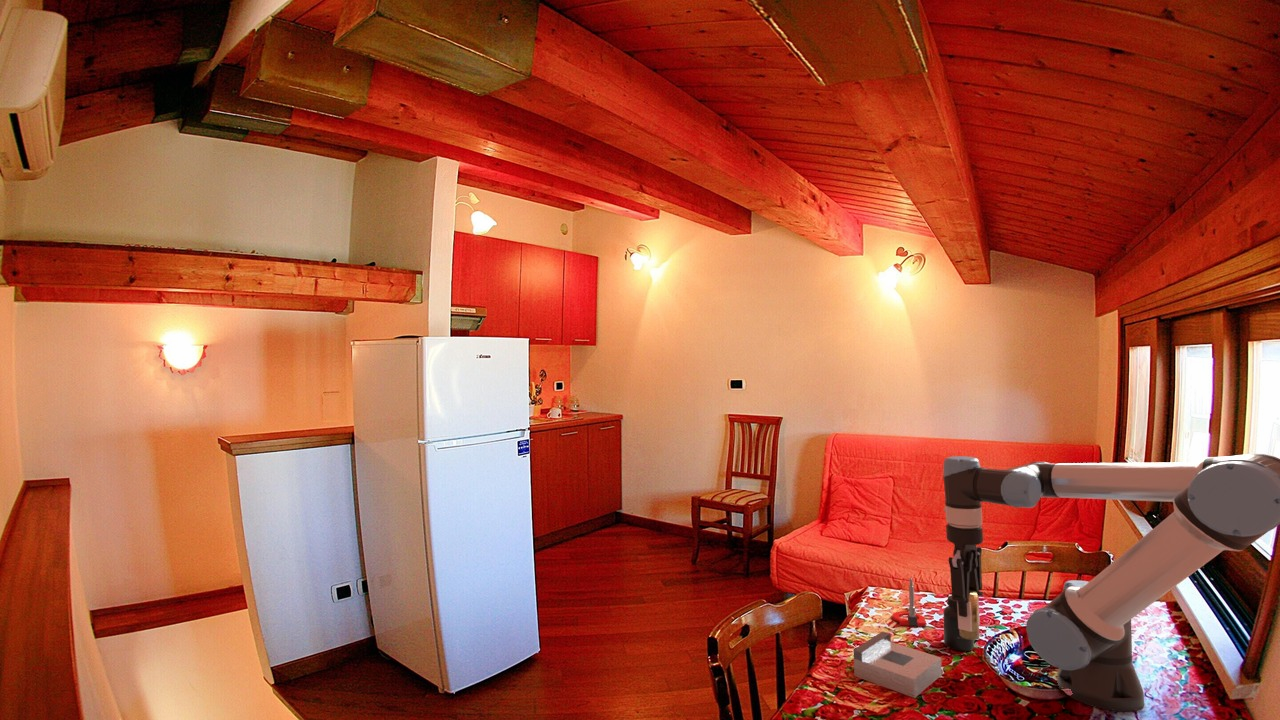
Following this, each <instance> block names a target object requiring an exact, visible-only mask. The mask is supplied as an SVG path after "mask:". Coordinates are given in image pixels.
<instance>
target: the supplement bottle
mask: <svg viewBox="0 0 1280 720" xmlns="http://www.w3.org/2000/svg"><path fill="white" fill-rule="evenodd" d="M946 605H947V606H945V608H944V609H943V643H944V645H945V646H946V647H948V648H949V649H952V650H954V651H960V652H969V651H972V650H973V649H974V646H975V640H971V639H965V638H963V637H961V636H960V629H958V610H957V601H956V600H953V599H952V594H951V595H947V604H946Z"/></svg>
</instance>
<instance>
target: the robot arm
mask: <svg viewBox="0 0 1280 720" xmlns="http://www.w3.org/2000/svg"><path fill="white" fill-rule="evenodd" d="M942 478H943V487H944V488H943V490H944V497H945V498H944V500H945V501H944V502H945V503H944V504H945V505H944V508H943V512H945V522H946V523H947V524H946V525H945V530H946V539H947V541H948V542H950V543H952V544H953V545H954V546H953V553H952V554H953V555H952V556H953V557H950V556H949V557H948V564H949V568H950V571H949V572H950V584H951V595H952V599H953V600H956V601H957V610H958V629H962V630H966V631H969V632H971V631H972V617H971V602H969V590H973V591H975V592H977V600H978V621H979V626H981V620H980V617H981V616H980V601H979V596H980V597H983V595H984V591H982V590H983V578H982V577H983V576H982V575H983V574H982V552H983V549H982V547H980V546H977V545H981V544H982V543H983V542H984V532H983V531H984V529H983V527H982V525H983V522H984V521H983V510H982V502H983V503H990V504H997V505H1002V506H1003V505H1004V506H1007V507H1008V506H1010V507H1013V508H1027V509H1029V508H1034V507H1036V505H1037V504H1038V503H1039V502H1040V500H1041V498H1052V499H1053V498H1065V499H1066V498H1068V499H1092V500H1097V499H1098V500H1116V501H1117V500H1118V501H1121V500H1122V501H1143V502H1144V501H1145V502H1168V503H1170V502H1172V503H1173V505H1172V506H1173V512H1171V514H1169V515H1168V516H1167V517H1166V518H1165V519H1163V520H1161V522H1160V523H1158V525H1156V526H1155V527H1154V528H1153V529H1151V530H1150V531H1149V532H1148V533H1146V534H1145V535H1144V536H1143V537H1142V538H1141V539H1139V540H1138V541H1137V542H1136V543H1134V544H1133V545H1132V546H1131V547H1129V548H1128V549H1127V550H1126V551H1125V552H1123V553H1122V554H1121V555H1120V556H1119V557H1118V558H1116V559H1115V560H1114V561H1112V562H1111V563H1110V564H1109V565H1108V566H1107V567H1105V568H1104V569H1103V570H1102V571H1100V573H1098V574H1097V575H1096V576H1094V577H1093V578H1092V579H1091V580H1089V581H1086V580H1075V579H1074V580H1073V579H1072V580H1067V581H1065V582H1064V584H1063V589H1062V592H1061V593H1059V594H1058V595H1057V596H1056V597H1055V598H1053V599H1052V600H1051V601H1050V602H1048V604H1046V605H1044V606H1043V607H1041V608H1038V609H1035V610H1034V611H1033V612H1032V614H1031V615H1030V616H1028V619H1027V621H1026V625H1025V627H1026V629H1025V630H1026V634H1027V639H1028V641H1029V644H1030V646H1031V647H1032V648H1033V650H1034V651H1035V652H1036V654H1037V655H1038V656H1039V657H1040V658H1041V659H1042V660H1043V661H1045V662H1046V663H1048V664H1049V665H1051V666H1053V667H1055V668H1057V669H1058V670H1057V673H1056V674H1057V675H1056V676H1057V683H1058V684H1057V686H1060V687H1066V688H1069V689H1071V691H1072V693H1073V694H1072V695H1071V696H1070V697H1069V698H1071V699H1073V700H1075V701H1077V702H1080V703H1082V704H1084V705H1087V706H1091V707H1093V708H1098V709H1101V710H1105V711H1106V710H1108V711H1113V712H1114V711H1115V712H1132V711H1133V712H1134V711H1137V710H1140V709H1141V708H1143V707H1144V705H1145V693H1144V689H1143V686H1142V685H1141V681H1140V678H1139V676H1138V674H1137V671H1136V669H1135V666H1134V663H1133V645H1132V644H1133V640H1132V638H1133V637H1132V633H1133V631H1132V619H1133V618H1135V617H1136V616H1138V615H1139V614H1140V613H1142V612H1143V611H1145V610H1146V609H1147V608H1148V607H1150V606H1151V605H1152V604H1153V603H1155V602H1156V601H1158V600H1159V599H1160V598H1162V597H1163V596H1164V595H1166V594H1167V593H1169V591H1171V590H1172V589H1174V588H1176V586H1178V585H1180V584H1181V583H1182V582H1183V581H1185V580H1186V579H1188V577H1190V576H1191V575H1193V574H1194V573H1195V572H1196V571H1198V570H1199V569H1201V568H1202V567H1204V565H1205V566H1206V564H1207V563H1209V562H1210V561H1211V560H1213V559H1214V558H1215V557H1217V556H1218V555H1219V554H1220V553H1222V552H1224V551H1231V552H1242V551H1244V550H1245V549H1247V548H1248V547H1249V546H1251V545H1252V544H1253V543H1255V542H1256V541H1257V540H1259V539H1261V538H1262V537H1263V536H1264V535H1266V534H1267V533H1268V532H1270V531H1272V530H1274V529H1276V528H1277V527H1278V526H1280V458H1279V457H1276V456H1273V455H1270V454H1265V453H1263V454H1262V453H1248V454H1247V453H1246V454H1237V455H1230V456H1206V457H1203V458H1202V459H1201V460H1200V461H1198V462H1112V463H1111V462H1099V463H1097V462H1087V463H1086V462H1083V463H1081V462H1080V463H1079V462H1077V463H1075V462H1073V463H1071V462H1070V463H1069V462H1067V463H1064V462H1063V463H1061V462H1060V463H1050V462H1046V461H1033V462H1030V463H1027V464H1023V465H1019V466H1015V467H1011V468H1006V469H999V468H997V469H996V468H987V467H981V464H980V461H979V459H978V458H976V457H975V456H961V455H957V456H956V455H955V456H948V457H946V458H945V459H944V460H943V475H942Z"/></svg>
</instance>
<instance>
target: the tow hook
mask: <svg viewBox="0 0 1280 720" xmlns="http://www.w3.org/2000/svg"><path fill="white" fill-rule="evenodd" d="M913 580H914V579H913V577H909V585H908V592H909V594H908V596H909V606H908V611H895V612H893V613H892V614H891V615H892V619H893V621H895V622H897V623H899V626H902V627H903V626H904V627H905V626H906V627H914V626H917V627H923V626H927V622H926V617H925V616H924V615H922V614H920V613H916V606H915V586H914V583H913V582H914V581H913ZM903 615H908V616H907V619H905V618H903V617H904V616H903Z"/></svg>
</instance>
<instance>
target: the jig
mask: <svg viewBox="0 0 1280 720" xmlns="http://www.w3.org/2000/svg"><path fill="white" fill-rule="evenodd" d="M853 669H854V670H853V671H854V672H853V673H854V674H853V675H854V677H857V678H858V679H861V680H865V681H867V682H870V683H872V684H875V685H878V686H881V687H883V688H885V689H889V690H892V691H894V692H898V693H899V694H903V695H905V696H907V697H911V698H914V699H916V697H918V696H919V695H920V694H922V692H923V691H925V690H926V689H927V688H928V687H929V686H931V685H932V684H933V683H934V682H935V681H936V680H938V679H939V678H940V677H941V676H942V674H943V673H942V657H940V656H937V655H935V654H931V653H929V652H928V653H927V652H924V651H921V650H918V649H914V648H911V647H909V646H906V645H905V646H904V645H902V644H899V643H895V642H893V641H891V633H889V632H888V631H887V632H886V631H884V630H883V631H881V632H879V633H878V634H876V635H874V636H873V637H872V638H870V639H869V640H866V641H865V642H864V643H862V644H860V645H859V646H857V647H856V648H854V649H853Z"/></svg>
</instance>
